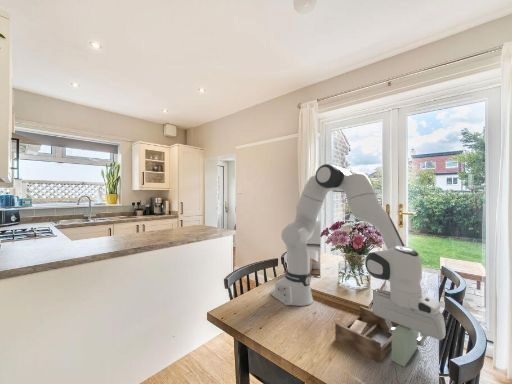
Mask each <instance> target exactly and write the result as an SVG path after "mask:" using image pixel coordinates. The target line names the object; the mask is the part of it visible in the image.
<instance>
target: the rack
mask: <svg viewBox="0 0 512 384" xmlns="http://www.w3.org/2000/svg"><path fill="white" fill-rule="evenodd" d="M356 320H359V321H362V322H365V323H367V325H368V326H371V327H370V328H369V330H368V331H367V332H366V333H365V334H364V335H362V334H360V333H358V332H356V331H354V330H352V329H350V327H351V326H352V325H353V323H354V322H355V321H356ZM391 324H392V326H393V327H394V328H396V327H397V326H398V324H397V323H394V322H392V321H391ZM334 329H335V331H334V332H335V333H334V334H335V336H334V339H335V340H336V341H337V342H340V343H342V344H343V345H345V346H347V347H349V348H351V349H352V350H355V351H356V352H358V353H360V354H362V355H364V356H366V357H368V358H369V359H372V361H375V362H377V363H379V364H380V363H381V362H382V361H383V359H384V358H385V357H386V356H387V355H388V354H389V352H390V351H392V334H391V333H389V328H388V326H387V324H386V322H385V319H384V318H382V317H379V316H376V315H374V313H373V312H372V309H370V308H367V307H362V306H360V307H359V315H358V316H357V317H355V318H354V319H352V320H351V321H350V322H348V323H347V324H346V325H343V324H341V323H339V322H335V327H334ZM379 330H380V331H382V332H385V333H388V334H390V335H391V336H390V337H389V338H388V339H387V340H386V341H385V342H384V344H382V343H381V342H379V341H377V340H375V339H372V337H374V335H375V334H376V333H377V332H378V331H379ZM381 345H382V346H381Z"/></svg>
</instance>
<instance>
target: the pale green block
mask: <svg viewBox="0 0 512 384" xmlns="http://www.w3.org/2000/svg"><path fill="white" fill-rule="evenodd" d="M391 336H392V349H391V361H392V362H394V363H396V364H398V365H400V366H402V367H406V365H408V364H407V362H408V361H409V359H410V358H411V357H412V355H413V354H414V352H415V351H416V350H418V347H419V345H417V339H418V337H419V332H417V331H415V330H412V329H410V328H407V327H405V326H402V325H399V324H398V326H397V327H396V328H395V329H394V330H393V331H392V334H391Z"/></svg>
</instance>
